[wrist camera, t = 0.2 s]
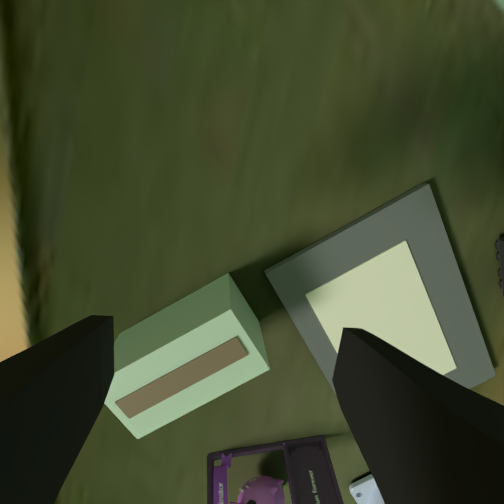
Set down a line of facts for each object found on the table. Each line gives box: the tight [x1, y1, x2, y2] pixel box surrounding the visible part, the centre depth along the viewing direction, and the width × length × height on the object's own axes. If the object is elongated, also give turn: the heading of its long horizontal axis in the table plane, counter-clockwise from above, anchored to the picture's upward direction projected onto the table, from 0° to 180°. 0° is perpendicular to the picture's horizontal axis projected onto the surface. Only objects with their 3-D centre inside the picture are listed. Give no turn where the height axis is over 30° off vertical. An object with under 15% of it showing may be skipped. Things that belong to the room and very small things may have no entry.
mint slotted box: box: [104, 273, 270, 439], centre depth 18 cm, size 4×8×5 cm, turn 119°
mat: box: [264, 183, 496, 396], centre depth 21 cm, size 16×11×1 cm
